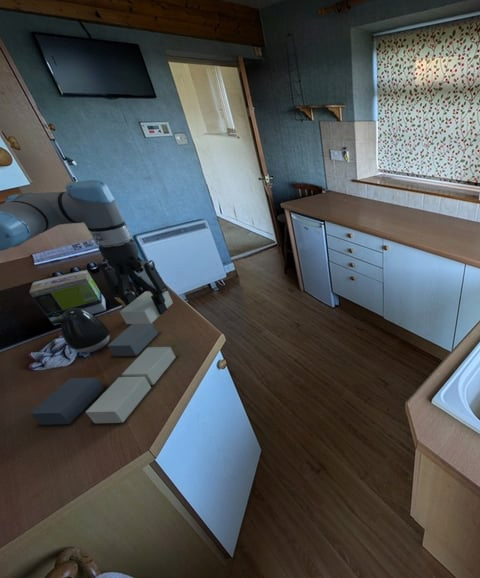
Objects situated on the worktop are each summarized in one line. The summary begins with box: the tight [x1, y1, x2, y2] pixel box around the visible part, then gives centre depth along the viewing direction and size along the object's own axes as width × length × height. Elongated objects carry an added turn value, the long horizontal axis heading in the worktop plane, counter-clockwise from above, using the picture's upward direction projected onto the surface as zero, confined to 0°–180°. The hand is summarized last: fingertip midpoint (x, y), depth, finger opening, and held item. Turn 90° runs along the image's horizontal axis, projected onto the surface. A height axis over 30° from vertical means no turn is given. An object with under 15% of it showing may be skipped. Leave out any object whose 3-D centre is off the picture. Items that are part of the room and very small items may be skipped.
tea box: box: [28, 269, 107, 326], centre depth 110 cm, size 15×10×15 cm, turn 130°
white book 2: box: [119, 290, 174, 325], centre depth 89 cm, size 7×11×4 cm, turn 2°
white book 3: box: [121, 346, 176, 386], centre depth 87 cm, size 7×11×4 cm, turn 2°
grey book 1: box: [29, 377, 105, 426], centre depth 76 cm, size 7×11×4 cm, turn 2°
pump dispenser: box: [50, 308, 111, 354], centre depth 93 cm, size 10×10×15 cm
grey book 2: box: [107, 323, 159, 357], centre depth 97 cm, size 7×11×4 cm, turn 2°
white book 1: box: [85, 376, 152, 424], centre depth 77 cm, size 7×11×4 cm, turn 2°
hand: (150, 312), depth 90 cm, fingers closed on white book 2, 7 cm apart
